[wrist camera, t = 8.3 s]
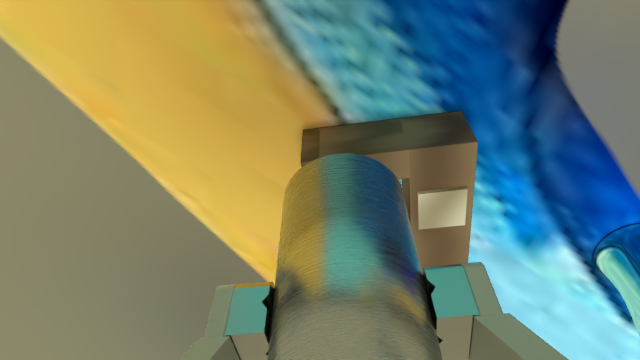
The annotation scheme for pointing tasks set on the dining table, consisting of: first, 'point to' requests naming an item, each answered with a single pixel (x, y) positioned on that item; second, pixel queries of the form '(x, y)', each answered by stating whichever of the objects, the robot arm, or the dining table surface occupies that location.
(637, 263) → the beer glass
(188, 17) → the dining table surface
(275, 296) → the grey cylinder
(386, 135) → the socket block
